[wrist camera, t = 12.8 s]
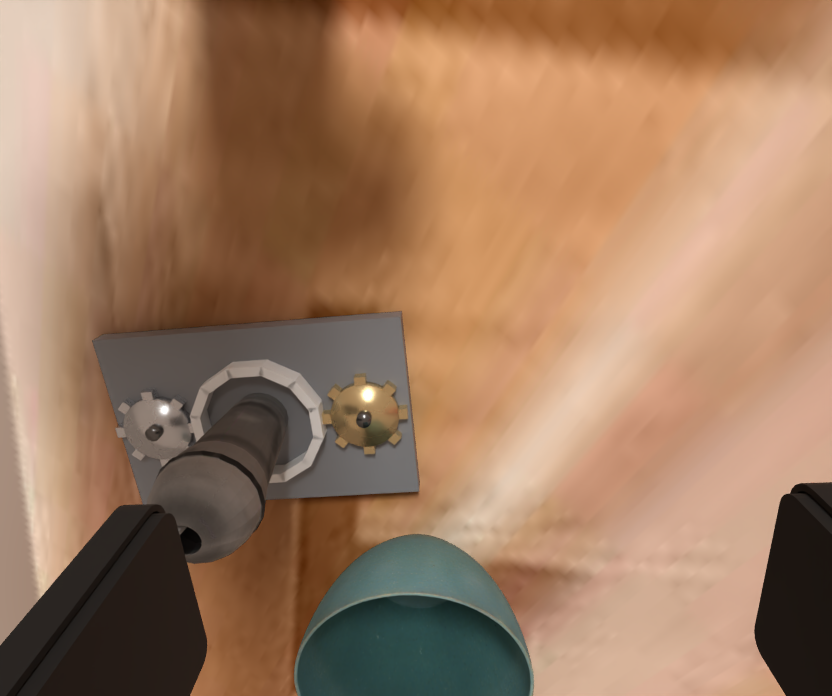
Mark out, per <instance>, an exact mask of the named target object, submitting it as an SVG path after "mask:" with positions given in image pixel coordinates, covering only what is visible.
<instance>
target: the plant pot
mask: <svg viewBox="0 0 832 696" xmlns="http://www.w3.org/2000/svg"><path fill="white" fill-rule="evenodd" d="M294 682H295V688H296V692H297V695H298V696H533V689H534V675H533V669H532V664H531V660H530V656H529V652H528V649H527V646H526V643H525V640H524V637H523V634H522V632H521V629H520V627H519V624H518V622H517V619H516V617H515V615H514V613H513V611H512V609H511V607H510V605H509V603H508V602H507V600H506V598H505V596H504V595H503V593H502V592H501V590H500V589H499V587H498V586H497V584H496V583H495V582H494V580H493V579H492V578H491V576H490V575H489V574H488V573H487V572H486V571H485V569H484V568H483V567H482V566H481V565H480V564H479V563H478V562H476V561H475V560H474V559H473V558H472V557H471V556H469V555H468V554H467V553H465V552H464V551H462V550H461V549H459V548H458V547H456V546H454V545H453V544H451V543H449V542H447V541H444V540H442V539H440V538H436V537H433V536H429V535H421V534H412V535H404V536H400V537H396V538H393V539H390V540H388V541H385V542H383V543H381V544H379V545H377V546H375V547H373V548H371V549H370V550H368V551H367V552H365V553H364V554H362V555H361V556H360V557H359V558H357V559H356V560H355V561H354V562H353V563H352V564H351V565H350V566H348V567H347V568H346V570H345V571H344V572H343V573H342V574H341V575H340V576H339V577H338V578H337V580H336V581H335V582H334V583H333V585H332V586H331V587H330V589H329V590H328V592H327V593H326V595H325V596H324V598H323V599H322V601H321V602H320V604H319V606H318V608H317V610H316V611H315V613H314V615H313V617H312V619H311V621H310V623H309V625H308V627H307V630H306V632H305V635H304V637H303V639H302V642H301V645H300V648H299V651H298V654H297V658H296V661H295V668H294Z"/></svg>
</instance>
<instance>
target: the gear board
mask: <svg viewBox="0 0 832 696" xmlns="http://www.w3.org/2000/svg"><path fill="white" fill-rule="evenodd" d="M92 342H93V345H94V348H95V351H96V355H97V358H98V361H99V364H100V368H101V371H102V374H103V377H104V380H105V384H106V387H107V390H108V393H109V397H110V400H111V403H112V406H113V409H114V413H115V416H116V419H117V422H118V425H119V424H122V423H124V417H125V414H124V413H122V412H121V411H119V410H118V408H119V407H120V405H121V404H122V403H123V401H125V400H126V399H127V398H129V399H131V400H132V401H133V402H135V403H136V402H137V401H139V400H140V399H142V396H141V392H142V391H143V390H144V389H148V388H156V390H157V394H158V396H162V397H166V398H169V399H171V400H173V399H174V398H175V397H176V396H177V395H180V396H181V397H182V398H184V399H185V400H187V401H186V403H185V404H184V405H183V408H184V409H185V410H186V411H187V412H188V414H189V415H190V419H191V423H192V427H193V431H194V435H193V439H192V441H191V442H194V443H196V442H197V441H198V440H199V439H200V438H201V437H202V436H203V435H204V434H205V433H206V432H207V431H208V430H209V429H210V428H211V427H212V426H213V425H214V424H215V423H216V422H217V421H219V420H220V419H221V418H222V417H223V416H224V415H225V414H226V413H227V412H228V411H229V410H230V409H231V408H232V407H233V406H234V405H235V404H236V403H238V402H239V401H240V400H241V399H242V398H243V397H245V396H247V395H249V394H252V393H264V394H269V395H271V396H273V397H275V398H277V399H278V400H279V401H280V402H281V403H282V404H283V406H284V407H285V409H286V410H287V414H288V426H287V428H286V432H285V437H284V440H283V443H282V446H281V449H280V452H279V455H278V458H277V461H276V464H275V467H274V470H273V473H272V476H271V479H270V482H269V485H268V488H267V495H266V500H273V499H291V498H309V497H327V496H345V495H363V494H381V493H399V492H417V491H419V483H420V481H419V471H418V462H417V452H416V443H415V433H414V424H413V414H412V405H411V396H410V386H409V377H408V367H407V358H406V348H405V339H404V329H403V320H402V311H398V312H385V313H373V314H360V315H347V316H334V317H321V318H308V319H296V320H283V321H270V322H257V323H244V324H231V325H219V326H206V327H193V328H180V329H167V330H154V331H142V332H129V333H116V334H103V335H101V336H99V337H98V338H96V339H94V340H92ZM360 373H366V377H367V382H373V383H377V384H379V385H381V386H383V385H384V384H385V382H386V381H387V380H389V381H390V382H392V383H393V384H394V385H396V386H397V387H396V391H395V392H394V393H393V396H394V397H395V399H396V401H397V403H398V406H399V405H407V406H408V419H399V423H398V426H397V430H399V431H400V432H401V433H402V437H401V439H400V440H399V441H398V442H397V443H396V444H395V445H394V444H392V443H391V442H390V441H388V440H387V441H385V442H384V443H382V444H379V445H376V452H375V454H364V447H362V446H357V445H354V444H351V443H349V442H348V444H347V445H346V446H345V447H344V448H342V447H341V446H340V445H338V444H337V443H335V440H336V437H337V436H338V435H339V434H338V433H337V432H336V431H335V429H334V427H333V425H332V424H323V420H322V413H323V410H331V407H332V404H333V402H334V400H333V399H332V398H330V397H329V396H328V395H327V394H328V392H329V390H330V389H331V388H332V387H333V386H334V384H335V383H336V384H337V385H338V386H340V387H341V388H342V389H343V388H344V387H346V386H348V385H349V384H352V383H354V375H355V374H360ZM122 438H123V442H124V445H125V448H126V451H127V454H128V458H129V461H130V464H131V467H132V470H133V474H134V477H135V480H136V483H137V487H138V490H139V493H140V496H141V499H142V503H143V504H147V500H148V497H149V494H150V492H151V489H152V487H153V485H154V482H155V480H156V478H157V475H158V473H159V471H160V469H161V468H162V465H161V462H160V459H155V458H151V457H148V456H146V455H145V457H144V458H143V459H142V460H141V461H140V460H139V459H137V458H136V457H134V456H133V455H132V453H133V452H134V451H135V448H134V447H133V446H132V445H131V443H130V442H129V441H128V439H127V437H122Z"/></svg>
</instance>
